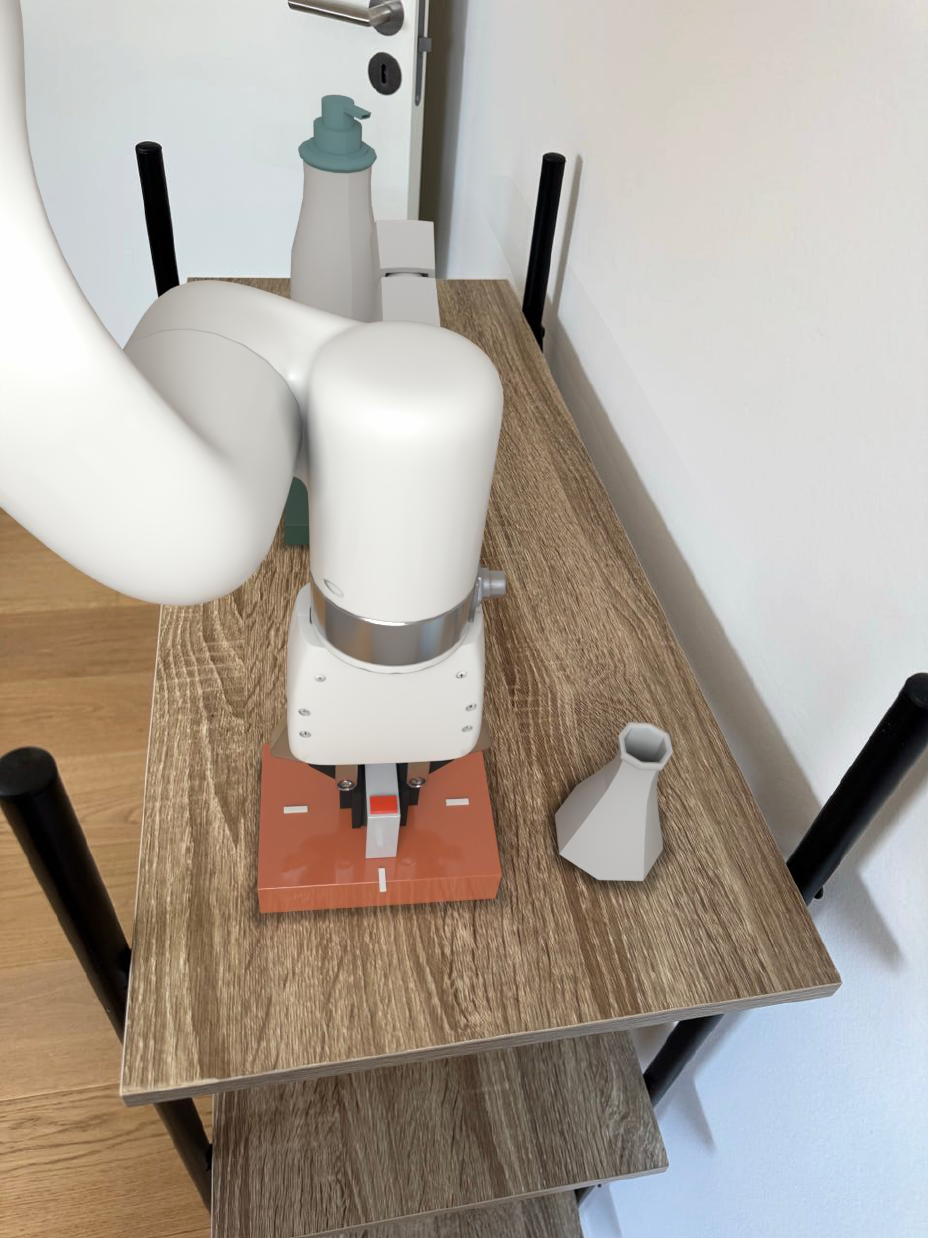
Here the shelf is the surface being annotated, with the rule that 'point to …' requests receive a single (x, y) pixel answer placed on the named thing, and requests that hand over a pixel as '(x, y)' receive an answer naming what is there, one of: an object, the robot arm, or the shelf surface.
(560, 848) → the flask
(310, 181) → the soap bottle
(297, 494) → the button block
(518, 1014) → the shelf surface
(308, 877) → the panel
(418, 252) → the faucet
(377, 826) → the tap handle
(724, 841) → the shelf surface
